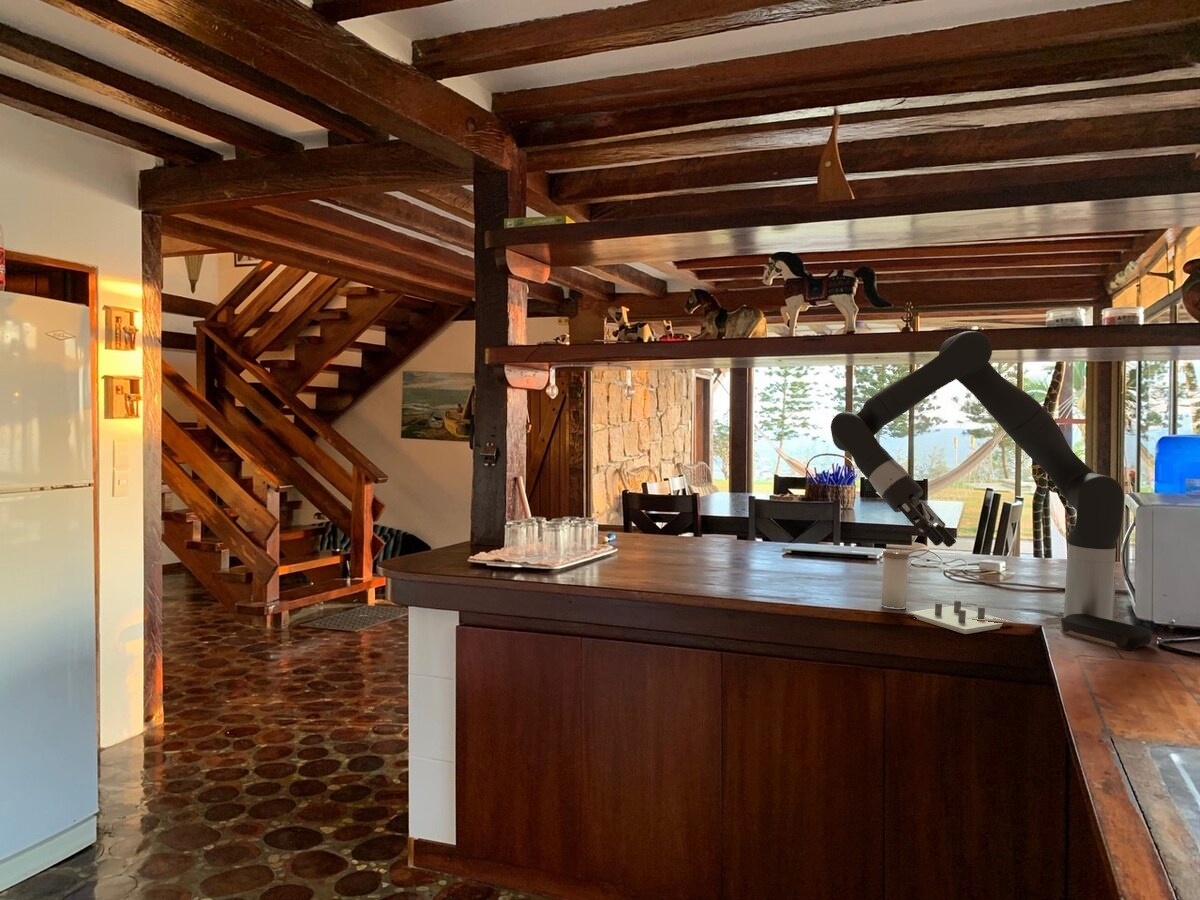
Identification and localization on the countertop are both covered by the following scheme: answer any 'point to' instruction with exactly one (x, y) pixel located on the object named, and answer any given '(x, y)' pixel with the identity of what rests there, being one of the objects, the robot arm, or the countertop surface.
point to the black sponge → (1106, 631)
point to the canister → (894, 578)
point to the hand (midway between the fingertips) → (946, 543)
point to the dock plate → (957, 618)
